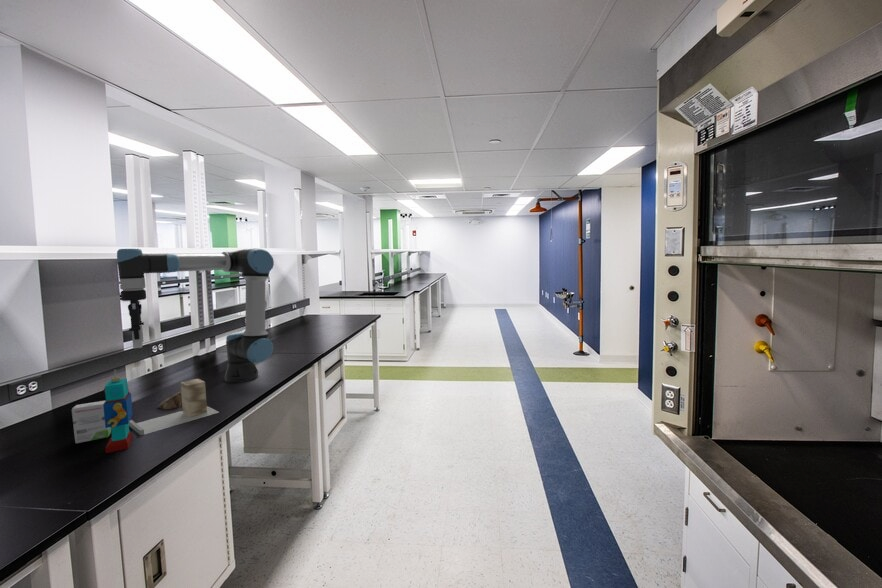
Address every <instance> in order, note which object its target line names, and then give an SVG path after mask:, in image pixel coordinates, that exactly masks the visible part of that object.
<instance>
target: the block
mask: <svg viewBox="0 0 882 588" xmlns="http://www.w3.org/2000/svg"><path fill="white" fill-rule="evenodd" d="M180 391H181V396H182V408H181V409H182V411H183V414H185V415H186V416H188V417H189V418H191V417H194V416H198V415H201V414H204V413H207V406H208V404H207V403H208V402H207V393H206V392H207V390H206V382H205V381H204V380H202V379H200V378H195V379H190V380H186V381H181V382H180Z"/></svg>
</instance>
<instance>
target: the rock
mask: <svg viewBox="0 0 882 588" xmlns="http://www.w3.org/2000/svg"><path fill="white" fill-rule="evenodd" d="M181 406H182V396H181V390H180V391H177V392H176V393H173V395H171V396H169V397H167V398H166V399H164V400H163V401H161V402H160V404H158V405H157V408H159V409H163V410H172V409H176V408H180V407H181Z"/></svg>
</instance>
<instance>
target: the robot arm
mask: <svg viewBox="0 0 882 588" xmlns="http://www.w3.org/2000/svg"><path fill="white" fill-rule="evenodd" d="M274 262H275V261H274V257H273V255H272V254H270V252H269V251H267V250H266V249H263V248H249V249H248V248H246V249H238V250H233V251H223V252H221V253H202V254H201V253H198V254H197V253H195V254H194V253H192V254H191V253H187V254H184V253H183V254H181V253H179V254H178V253H177V254H176V253H143V251H142V249H141V248H119V249H118V250H117V251H116V263H117V268H118V269H117V270H118V278H119V280H118V281H117V284H118V285H119V287H120V290H121V291H120V300H121V301H123V302H128V301H129V304H128V305H127V310H128V315H129V317H130V328H128V331H129V332H131V339H132V347H133V348H132V349H141V348H143V342H144V333H143V326H144V325H145V323H144V321H142V304H141V303H140V301H143V300H146V299H147V291H146V290H145V289H146V279H145V274H161V273H163V274H164V273H169V274H170V273H176V272H178V273H179V272H197V271H198V272H200V271H203V272H204V271H223V272H225V273H229V272H231V273H240V274H241V277H242V278H243V279H244V281H245V330H244V332H238V333H233V334H228V335H227V336H226V341H225V344H226V359H227V368H226V371H225V374H224V381H225V382H227V383H232V384H233V383H243V382H249V381H253V380H255V379H257V378H258V377H259V371H258V368H257V366H256V363H263V362H265V361H266V360H268V359H269V358H270V357H271V356H272V354H273V351H274V345H273V342H272V341H271V340H270V339H269V332H268V331H267V330H266V281H267V279H269V278H270V272H272V271H271V270H273V269H274V265H275V264H274Z"/></svg>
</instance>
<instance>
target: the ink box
mask: <svg viewBox="0 0 882 588" xmlns="http://www.w3.org/2000/svg"><path fill="white" fill-rule="evenodd" d="M105 401H106V400H99V401H94V402H88V403H87V402H86V403H81V404H75V406H73V407H72V409H71V416H72V424H73V433H74V443H75V444H81V443H84V442H91V441H95V440H101V439H106V438H109V437H110V435H111V434H112V432H111V427H109V428H105V418H104V407H103V404H104V403H105Z"/></svg>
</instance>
